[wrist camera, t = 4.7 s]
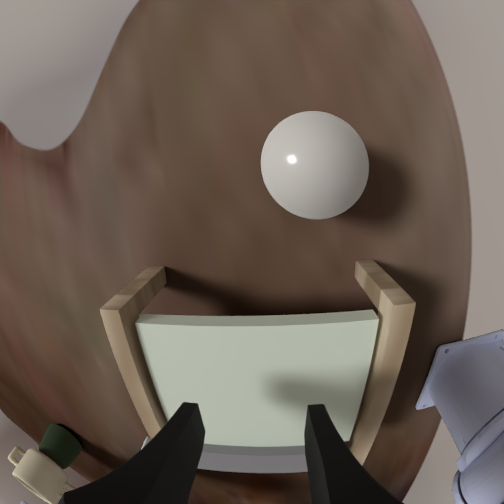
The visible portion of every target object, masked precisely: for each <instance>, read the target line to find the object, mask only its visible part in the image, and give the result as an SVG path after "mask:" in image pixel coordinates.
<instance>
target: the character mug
mask: <svg viewBox="0 0 504 504" xmlns="http://www.w3.org/2000/svg"><path fill="white" fill-rule="evenodd" d="M81 451H82V447H81V445H80V443H79V442H78V440H77V439H76V438H75V437H74V436H73V435H72V434H71V433H70V432H68V431H67V430H66V429H64V428H63V427H61V426H58V425H56V424H50V425H49V427H48V429H47V430H46V432H45V434H44V436H43V438H42V441H41V443H40V445H39V451H38V450H36V449H34V448H30V449H29V450H28V451H27V452H25V451H23V450H22V449H21V448H20V447H18V446H16V447H15V448H14V449H13V450H12V452H11V453H10V454H9V456H8V459H9V460H10V461H11V462H12V463H13V464H14V465H15V466H16V468H15V469H14V471H13V473H12V474H13V475H14V477H15V478H16V479H18V480H19V481H20V482H21V483H22V484H23V485H24V486H25V487H26V488H28V489H29V490H30V491H31V492H33V493H34V494H36V495H37V496H38V497H40V498H41V499H43V500H44V501H46V502H48V503H50V504H55V503H56V501H57V500H58V498H60V499H61V497H62V496H63V494H61V492H62V490H63V488H64V487H66V488H67V489H69V490H70V491H71V490H74V489H76V488H75V487H73V486H72V485H70V484H68V483H67V481H68V476H67V474H66V473H65V472H64V470H63V469H65V468H67V467H68V466H69V465H70V464H71V463H72V462H73V461H74V460H75V458H76V457H77V456H78V455H79V454H80V452H81ZM18 453H19V454H21V455H22V456H23V458H22V459H21V461H20V462H18V461H17V460H16V459H15V457H16V456H17V454H18Z"/></svg>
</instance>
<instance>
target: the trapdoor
mask: <svg viewBox="0 0 504 504" xmlns="http://www.w3.org/2000/svg"><path fill="white" fill-rule="evenodd" d="M378 322H379V318H378V317H377V315H376V314H375V312H374V311H373V310H362V311H349V312H335V313H318V314H298V315H268V316H184V315H155V314H142V315H141V316H140V317H139V319H138V320H137V321H136V322H135V325H136V329H137V333H138V336H139V340H140V343H141V347H142V350H143V353H144V357H145V360H146V363H147V366H148V369H149V372H150V375H151V378H152V381H153V384H154V387H155V390H156V392H157V395H158V398H159V400H160V403H161V406H162V408H163V411H164V413H165V416H166V418H167V421H169V419H170V418H171V417H172V416H173V414H174V413H175V412H176V411H177V409H178V408H179V407H180V406H181V404H182V403H183V402H189V403H198V406H199V409H200V413H201V417H202V420H203V424H204V428H205V431H206V432H205V439H204V445H203V451H202V454H201V458H200V461H199V464H198V469H206V470H216V471H227V472H244V473H292V472H308V469H307V463H306V456H305V440H304V431H305V423H306V415H307V407H308V405H313V404H324V405H325V407H326V409H327V412H328V414H329V416H330V418H331V420H332V422H333V424H334V426H335V427H336V429H337V431H338V433H339V434H340V436H341V437H342V439H343V441H349V440H350V437H351V434H352V431H353V427H354V424H355V421H356V418H357V414H358V411H359V407H360V404H361V400H362V397H363V393H364V389H365V385H366V381H367V377H368V373H369V368H370V364H371V359H372V354H373V350H374V345H375V339H376V334H377V328H378Z"/></svg>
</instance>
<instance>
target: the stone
mask: <svg viewBox="0 0 504 504" xmlns="http://www.w3.org/2000/svg"><path fill="white" fill-rule="evenodd" d="M261 171H262V176H263V180H264V182H265V185H266V187H267V189H268V191H269V193H270V194H271V196H272V197H273V198H274V199H275V201H276V202H277V203H278V204H279V205H281V206H282V207H283V208H284V209H286V210H287V211H289V212H291V213H293V214H295V215H297V216H300V217H303V218H308V219H326V218H331V217H334V216H337V215H339V214H341V213H343V212H345V211H346V210H347V209H349V208H350V207H351V206H352V205H353V204H355V202H356V201H357V200H358V199H359V198H360V196H361V194H362V193H363V191H364V188H365V186H366V183H367V180H368V174H369V160H368V155H367V151H366V148H365V146H364V143H363V141H362V140H361V138H360V136H359V135H358V134H357V132H356V131H355V130H354V129H353V128H352V127H351V126H350V125H349V124H348V123H346V122H345V121H343V120H342V119H340V118H338V117H336V116H334V115H332V114H329V113H325V112H319V111H306V112H301V113H297V114H294V115H292V116H290V117H288V118H286V119H284V120H283V121H281V122H280V123H279V124H278V125H277V126H276V127H275V128H274V129H273V130H272V131H271V133H270V134H269V136H268V137H267V139H266V142H265V144H264V147H263V150H262V155H261Z"/></svg>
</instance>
